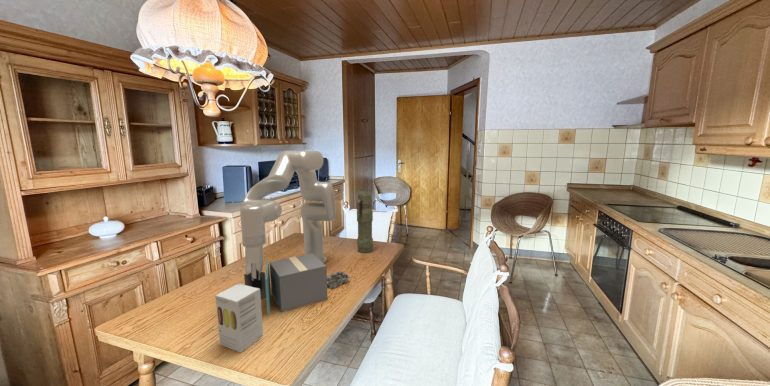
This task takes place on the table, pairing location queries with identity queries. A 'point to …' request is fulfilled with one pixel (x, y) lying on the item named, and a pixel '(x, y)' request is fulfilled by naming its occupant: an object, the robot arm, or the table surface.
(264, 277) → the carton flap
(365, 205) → the thermos
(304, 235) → the robot arm
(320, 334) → the table surface
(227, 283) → the table surface
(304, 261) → the carton
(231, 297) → the supplement box
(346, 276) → the egg carton
